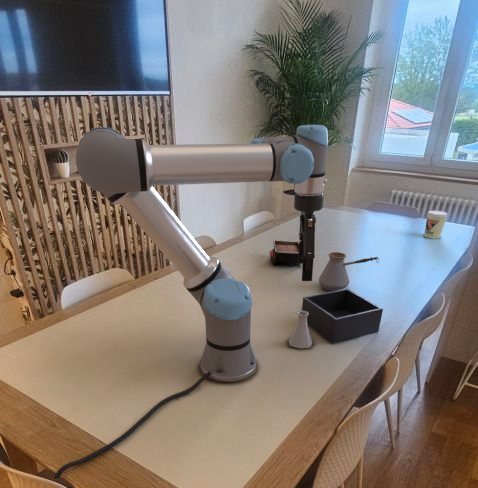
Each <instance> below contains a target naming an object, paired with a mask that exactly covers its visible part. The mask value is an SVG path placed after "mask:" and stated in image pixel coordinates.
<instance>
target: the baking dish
mask: <svg viewBox="0 0 478 488" xmlns="http://www.w3.org/2000/svg"><path fill="white" fill-rule="evenodd" d="M272 244H273V248H272V249H271V250H270V251H269V256H270V259H271V263H272V265H276V264H279V263H284V264H289V265H294V266H295V267H298V268H300V266H301V264H298V258H299V241H293V240H284V239H283V240H280V239H274V240H273V241H272Z"/></svg>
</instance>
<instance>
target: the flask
mask: <svg viewBox="0 0 478 488" xmlns="http://www.w3.org/2000/svg"><path fill="white" fill-rule="evenodd" d="M296 315H297V320H296V324H295V327H294V329H293V331H292V333H291V335H290V337H289V339H288V344H289V346H290V347H293V348H296V349H309V348H310V347H312V345H313V340H312V337H311V334H310V329H309V327H308V326H309V325H307V316H308V312H306V311H302V310H299V311H297V313H296Z"/></svg>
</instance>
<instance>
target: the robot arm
mask: <svg viewBox="0 0 478 488" xmlns="http://www.w3.org/2000/svg"><path fill="white" fill-rule="evenodd" d="M328 139H329V133H328V128H327V126H325V125H323V124H303V125H299V126H297V128H296V132H295V135H289V136H273V137H271V136H270V137H265V136H263V137H259V138H253V139H251V140H249V141H250V142H249V143H201V144H200V143H199V144H197V143H196V144H193V143H192V144H191V143H190V144H149V143H148V142H147V141H146V140H145V139H144V138H143V139H141V138H140V139H138V138H137V139H133V138H126V137H125V136H124V135H123V134H122V133H120V132H119V131H118V130H115V129H113V128H111V127H106V126H99V127H95V128H91V129H90V130H88V131H87V132H85V133H84V135H83V136H82V137H81V138H80V140H79V142H78V146H77V148H76V151H75V166H76V169H77V172H78V174H79V177H80V178H81V179H82V181H83V182H84V183H85V184H86V185H87V186H88V187H89V188H90V189H92V190H94V191H96V192H98V193H101V194H102V195H103V196H104V197H105V198H106V200H107V201H108V202H109V203H110V204H111V205H118V206H121V207H122V208H123V209H124V210H125V211H126V213H128V215H129V217H130V218H132V220H134V222H135V223H136V224H137V225H138V226H139V227H140V229H141V230H142V231H143V232H144V233H145V235H147V237H148V238H149V239H150V240H151V241H152V242H153V244H154V245H155V246H156V247H157V248H158V250H159V251H161V253H162V254H163V255H164V256H165V257H166V259H167V260H168V261H169V262H170V264H172V266H173V267H174V268H175V269H176V270H177V271H178V272H179V274H180V275H181V276H182V277H183V282H182V283H183V286H184V288H185V289H186V290H187V291H188V292H189V294H190V295H191V296H192V297H193V299H195V300H196V302H197V303H198V304H199V306H200V309H201V311H202V314H203V316H204V321H205V322H204V323H205V346H204V348H203V351H202V355H201V357H200V362H199V363H200V371H201V373H202V374H203V376H202V377H200V378H199V379H197V381H196V382H195V383H194V384H192V385H191V386H190V387H188V388H186V389H185V390H183V391H180V392H178V393H175V394H172V395H170V396H167V397H166V398H163V399H162V400H160V401H159V402H158V403H157V404H156V405H154V406H153V407H152V408H151V409H149V411H147V413H146V414H145V415H144V416H142V417H141V418H140V419H139V420H138V421H136V423H134V424H133V425H132V426H130V428H128V430H127V431H125V432H124V433H123V434H121V435H120V436H119V437H116V438H115V439H114V440H113V441H111V442H110V443H108V444H106V445H104V446H103V447H101V448H99V449H98V450H95V451H94V452H92V453H90V454H88V455H86V456H84V457H82V458H79V459H76V460H73V461H70V462H67V463H65V464H63V465H62V466H61V467H60V468H59V469H58V470H57V471H56V473H55V474H54V476H53V479H55V480H56V479H59V478H60V477H61V475H62V474H64V472H65V471H66V470H67V469H70V468H72V467H75V466H78V465H81V464H83V463H86V462H88V461H90V460H91V459H93V458H95V457H97V456H99V455H101V454H103V453H104V452H106V451H108V450H110V449H112V448H113V447H115V446H116V445H118V444H119V443H121V442H122V441H123V440H124V439H126V438H127V437H128V436H130V435H131V434H132V433H133V432H134V431H136V429H138V428H139V427H140V426H141V425H142V424H143V423H144V422H145V421H146V420H148V419H149V418H150V417H151V415H153V414H154V413H155V412H156V411H157V410H158V409H159V408H161V407H162V406H163V405H165V404H166V403H168V402H169V401H172V400H174V399H176V398H179V397H182V396H184V395H187V394H188V393H190V392H193V391H194V390H195V389H197V388H198V386H200V385H201V384H202V383H203V382H204V381H205V380H206V379H207V378H208V379H209V380H212V381H214V382H219V383H225V384H226V383H228V384H229V383H238V382H243V381H245V380H247V379H249V378H251V377H252V376H253V375H254V374H255V373H256V371H257V359H256V355H255V353H254V349H253V346H252V344H251V331H252V329H251V328H252V327H251V325H252V306H253V301H252V300H253V299H252V292H251V289H250V288H249V286H248V285H247V284H246V283H245V282H243V281H242V280H241V281H239V280H238V279H235V278H234V277H233V275H232V273H231V272H230V271H229V270H228V269H226V267H225V266H224V265H223V264H222V263H221V262H220V260H219V259H218V257H216V256H209V255H208V254H207V252H205V250H204V249H203V248H202V246H201V245H200V244H199V243H198V242H197V240H196V239H195V237H193V235H192V233H190V232H189V231H188V229H187V227H186V226H185V225H184V223H182V221H181V220H180V219H179V217H178V216H177V215H176V214H175V212H174V211H173V210H172V209H171V207H170V206H169V205H168V203H167V202H166V201H165V200H164V198H162V196H161V194H159V192H158V191H157V190H156V189H155V187H156V186H157V187H158V186H180V185H181V186H183V185H184V186H185V185H206V184H207V185H208V184H230V183H231V184H234V183H255V182H256V183H258V182H286V183H288V184H293V185H294V189H293V191H294V192H295V194H294V195H293V209H295V210H296V211H298V212H300V214H299V229H298V230H299V232H298V239H299V240H298V242H299V258H298V264H300V265H302V270H301V282H313V274H314V273H313V270H314V259H315V257H316V255H315V253H316V252H315V249H316V247H315V245H316V244H315V243H316V242H315V241H316V222H317V217H316V215H315V214H314V213H315V212H319V211H321V210H322V209H323V206H324V193H323V192H324V191H325V184H326V183H327V182H328V179H327V178H325V177H326V164H327V153H328V148H329V143H328V141H329V140H328Z"/></svg>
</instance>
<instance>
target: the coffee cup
mask: <svg viewBox="0 0 478 488" xmlns="http://www.w3.org/2000/svg"><path fill="white" fill-rule="evenodd" d="M447 217H448V213H447V212H446V211H443V210H429V211H428V212H427V216H426V222H425V229H424V234H423V237H425V238H427V239H432V240H433V239H434V240H435V239H436V240H437V239H440V238H441V236H442V233H443V229H444V227H445V224H446V220H447Z"/></svg>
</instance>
